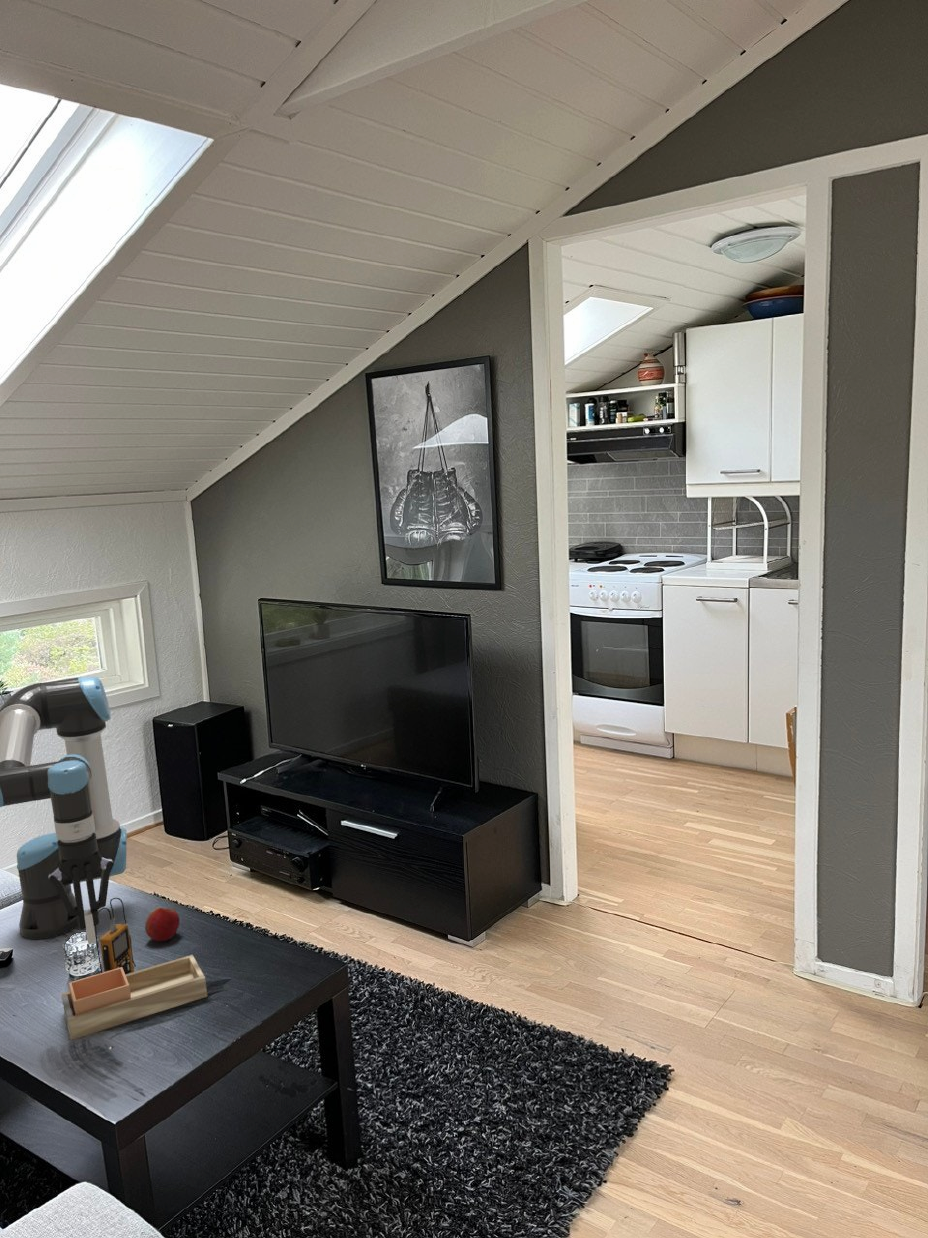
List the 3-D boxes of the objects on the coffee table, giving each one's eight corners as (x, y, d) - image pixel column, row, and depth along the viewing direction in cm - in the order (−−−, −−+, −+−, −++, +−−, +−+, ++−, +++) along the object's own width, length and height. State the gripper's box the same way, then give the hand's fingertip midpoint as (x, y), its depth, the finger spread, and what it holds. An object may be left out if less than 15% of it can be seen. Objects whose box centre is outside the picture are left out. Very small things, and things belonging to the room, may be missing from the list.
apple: (179, 944, 234) (175, 913, 233) (144, 949, 233) (140, 918, 231) (183, 929, 241) (179, 900, 240) (150, 934, 240) (146, 904, 239)
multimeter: (137, 1005, 209) (126, 919, 205) (96, 1002, 211) (85, 917, 208) (171, 969, 223) (161, 889, 220) (133, 967, 225) (122, 887, 222)
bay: (64, 1012, 207) (61, 993, 206) (194, 972, 220) (192, 954, 219) (71, 1040, 196) (68, 1020, 196) (207, 996, 209) (205, 977, 208)
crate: (72, 1008, 206) (68, 982, 205) (125, 992, 211) (122, 967, 210) (77, 1028, 198) (73, 1002, 197) (132, 1011, 203) (129, 985, 202)
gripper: (44, 850, 192) (60, 958, 196) (112, 834, 198) (126, 939, 202) (40, 837, 198) (56, 942, 203) (106, 822, 204) (120, 924, 209)
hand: (91, 940), depth 202 cm, fingers closed
